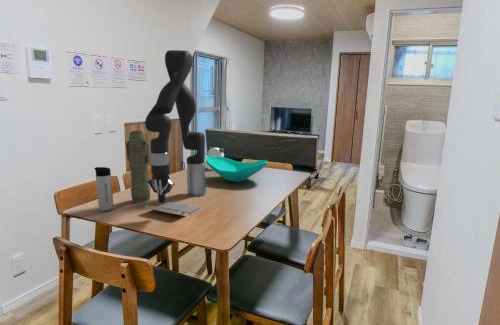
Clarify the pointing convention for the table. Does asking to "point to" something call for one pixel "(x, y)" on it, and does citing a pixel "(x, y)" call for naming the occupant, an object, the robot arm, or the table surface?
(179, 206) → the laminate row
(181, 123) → the robot arm
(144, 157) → the olive green canister
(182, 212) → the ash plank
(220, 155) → the panda figurine
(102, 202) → the travel mug
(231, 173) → the table top decor
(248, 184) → the table surface
